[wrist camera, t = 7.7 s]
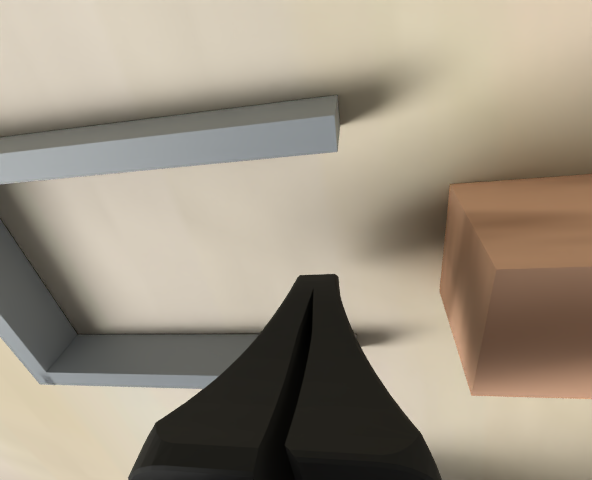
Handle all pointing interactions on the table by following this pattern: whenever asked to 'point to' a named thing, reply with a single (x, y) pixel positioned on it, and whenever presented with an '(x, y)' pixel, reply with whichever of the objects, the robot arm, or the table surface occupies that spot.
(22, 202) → the table surface
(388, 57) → the table surface
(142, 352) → the grey u-shaped frame
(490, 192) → the cube
